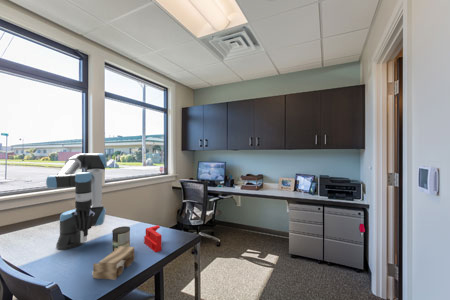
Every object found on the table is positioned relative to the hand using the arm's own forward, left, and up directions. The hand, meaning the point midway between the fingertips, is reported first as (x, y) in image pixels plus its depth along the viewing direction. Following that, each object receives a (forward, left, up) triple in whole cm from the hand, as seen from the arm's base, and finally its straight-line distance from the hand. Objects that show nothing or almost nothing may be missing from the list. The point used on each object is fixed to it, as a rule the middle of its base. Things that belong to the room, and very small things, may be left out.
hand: (83, 241), depth 111 cm
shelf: (+19, -1, -14) cm, 24 cm away
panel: (+17, -1, -14) cm, 22 cm away
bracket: (+30, +28, -14) cm, 44 cm away
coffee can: (+10, +18, -14) cm, 25 cm away
